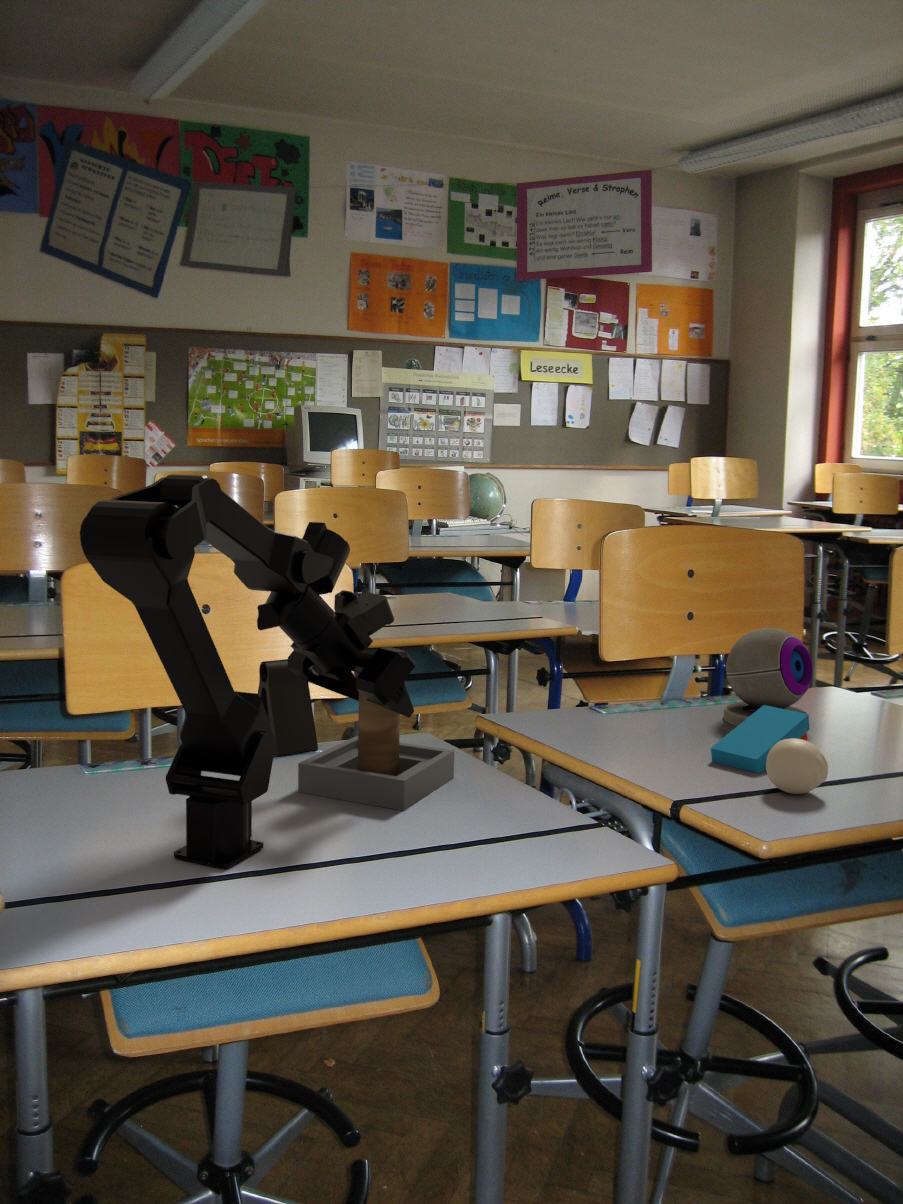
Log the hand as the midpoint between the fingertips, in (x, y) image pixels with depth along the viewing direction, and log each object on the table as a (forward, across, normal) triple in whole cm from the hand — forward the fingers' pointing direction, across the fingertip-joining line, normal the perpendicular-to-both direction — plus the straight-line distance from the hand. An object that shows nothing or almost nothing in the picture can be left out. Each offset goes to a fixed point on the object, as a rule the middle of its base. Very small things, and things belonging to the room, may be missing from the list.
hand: (387, 706), depth 124 cm
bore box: (+6, 0, +8) cm, 10 cm away
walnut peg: (+6, 0, +8) cm, 10 cm away
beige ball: (+34, -33, -20) cm, 51 cm away
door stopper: (+6, +22, +8) cm, 24 cm away
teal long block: (+43, -22, -28) cm, 56 cm away
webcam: (+55, -10, -41) cm, 69 cm away
